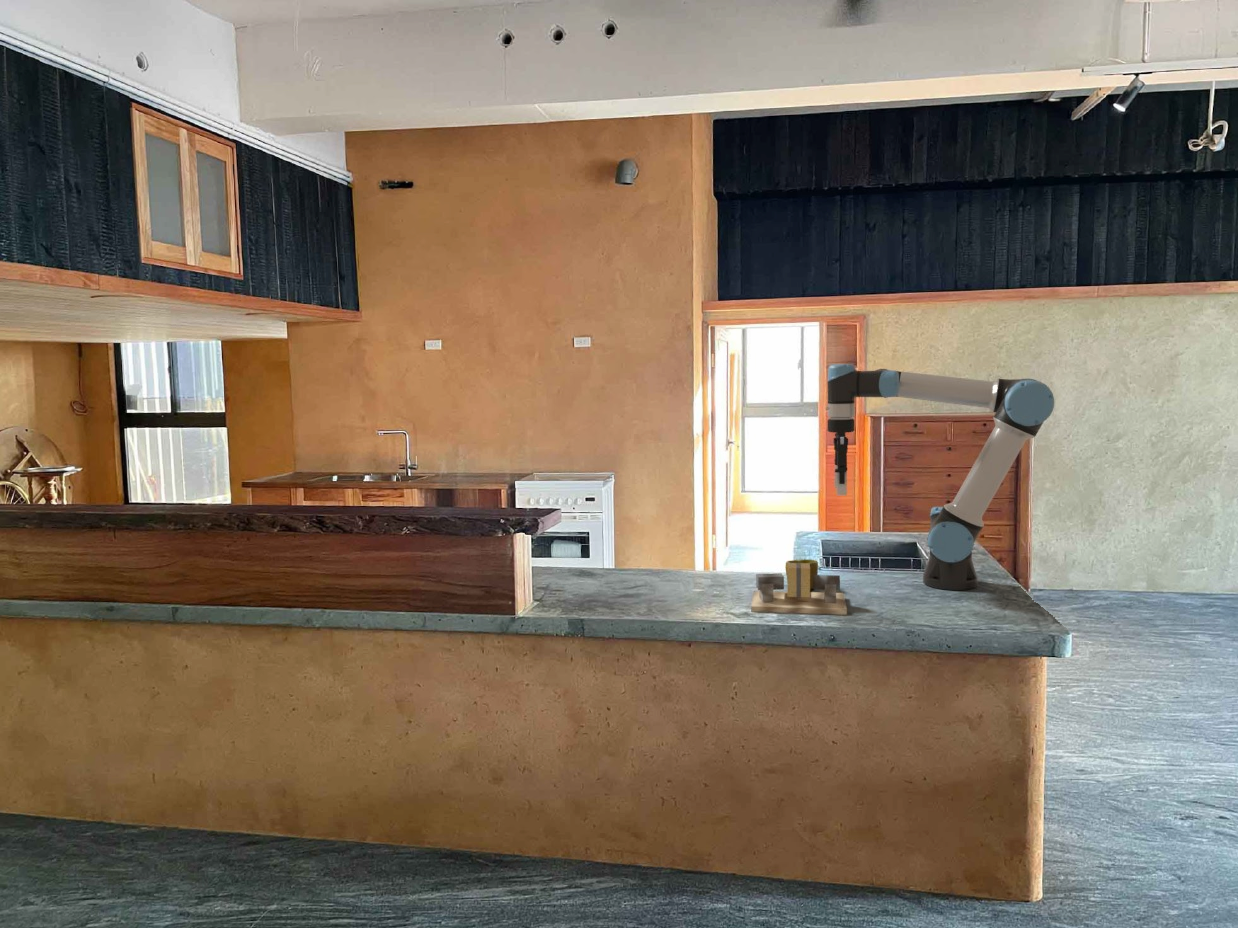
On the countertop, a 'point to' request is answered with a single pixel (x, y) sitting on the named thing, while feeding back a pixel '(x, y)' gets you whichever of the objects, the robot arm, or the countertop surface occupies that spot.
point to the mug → (812, 568)
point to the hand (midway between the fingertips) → (840, 491)
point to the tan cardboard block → (798, 579)
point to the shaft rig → (811, 605)
